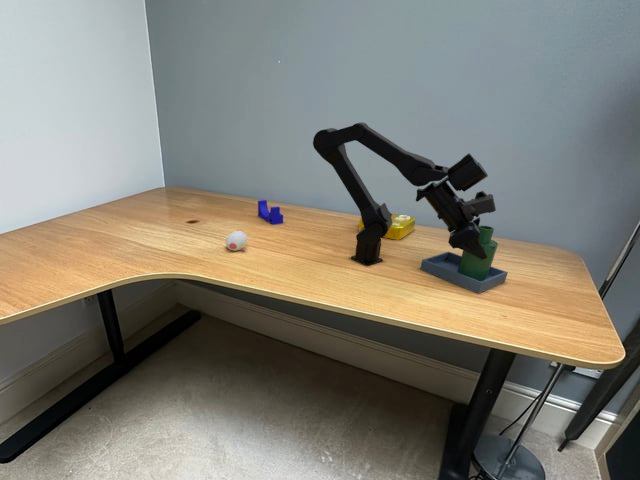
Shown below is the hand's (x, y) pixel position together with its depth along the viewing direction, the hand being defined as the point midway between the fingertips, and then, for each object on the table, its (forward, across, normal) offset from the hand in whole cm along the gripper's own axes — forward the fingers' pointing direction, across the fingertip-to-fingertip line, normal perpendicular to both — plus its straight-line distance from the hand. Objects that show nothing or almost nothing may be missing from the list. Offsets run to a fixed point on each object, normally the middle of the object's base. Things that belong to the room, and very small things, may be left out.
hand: (484, 253), depth 91 cm
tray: (+2, +1, +8) cm, 8 cm away
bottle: (+4, 0, +6) cm, 7 cm away
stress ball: (-41, -10, +52) cm, 67 cm away
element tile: (-14, +29, +25) cm, 41 cm away
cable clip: (-44, +22, +54) cm, 73 cm away
